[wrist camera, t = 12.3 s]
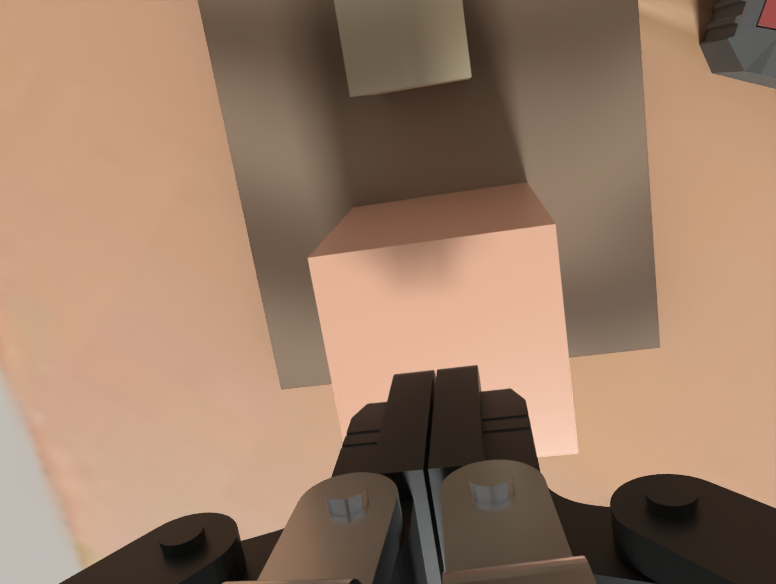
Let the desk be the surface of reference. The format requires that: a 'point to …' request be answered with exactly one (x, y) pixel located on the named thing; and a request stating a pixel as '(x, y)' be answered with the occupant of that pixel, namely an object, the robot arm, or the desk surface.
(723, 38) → the walkie-talkie
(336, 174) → the board
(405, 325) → the peach cube
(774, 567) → the robot arm
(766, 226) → the desk surface
